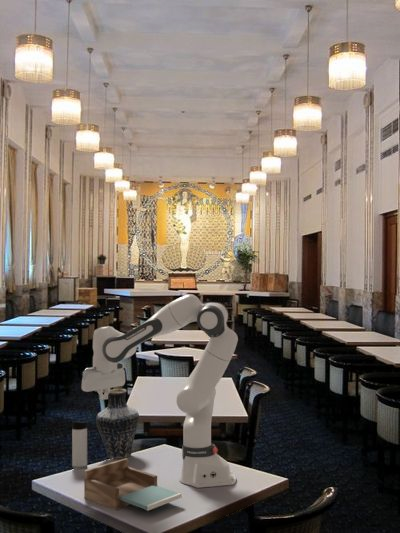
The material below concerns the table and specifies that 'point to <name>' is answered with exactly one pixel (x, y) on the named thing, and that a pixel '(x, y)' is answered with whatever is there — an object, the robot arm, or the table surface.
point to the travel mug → (79, 444)
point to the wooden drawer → (115, 483)
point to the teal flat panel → (151, 497)
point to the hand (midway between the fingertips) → (103, 399)
